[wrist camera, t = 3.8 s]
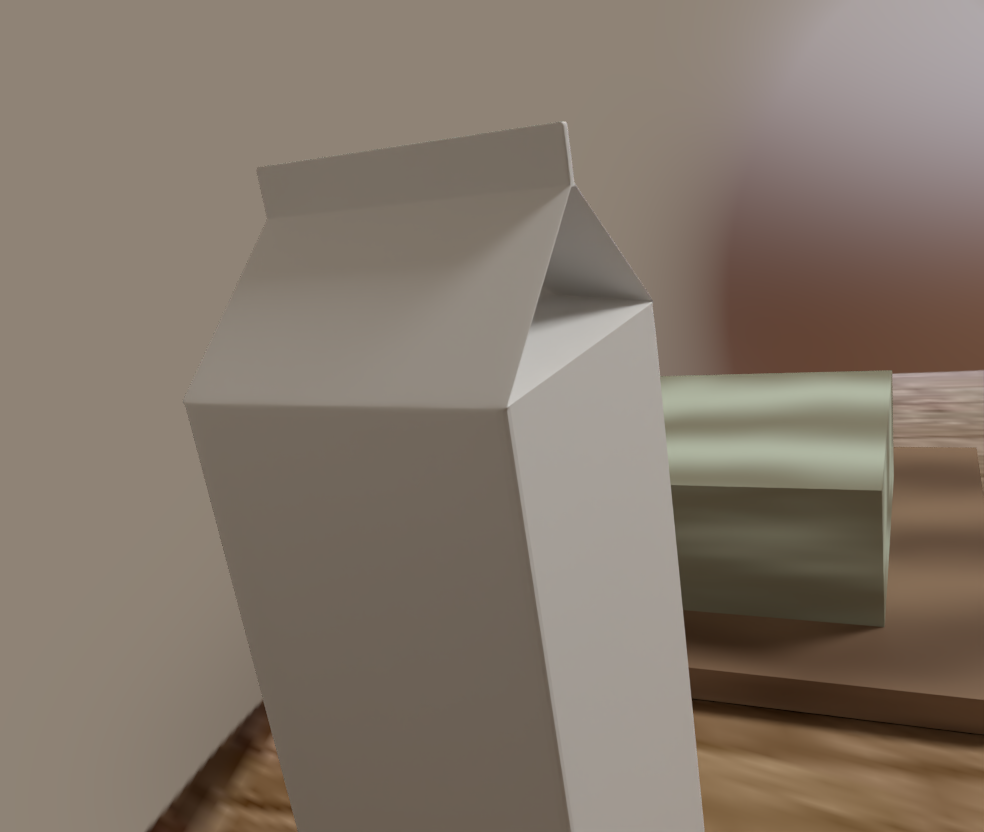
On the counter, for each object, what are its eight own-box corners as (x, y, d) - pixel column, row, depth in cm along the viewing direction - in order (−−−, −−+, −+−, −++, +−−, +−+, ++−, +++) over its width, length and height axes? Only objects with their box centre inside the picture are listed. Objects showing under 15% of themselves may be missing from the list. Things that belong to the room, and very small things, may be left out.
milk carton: (611, 1104, 19) (463, 139, 13) (336, 990, 22) (123, 190, 16) (708, 851, 24) (636, 107, 19) (478, 792, 28) (357, 150, 22)
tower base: (579, 464, 52) (565, 359, 50) (976, 471, 44) (977, 345, 42) (414, 663, 35) (384, 516, 33) (1012, 738, 27) (1017, 546, 25)
